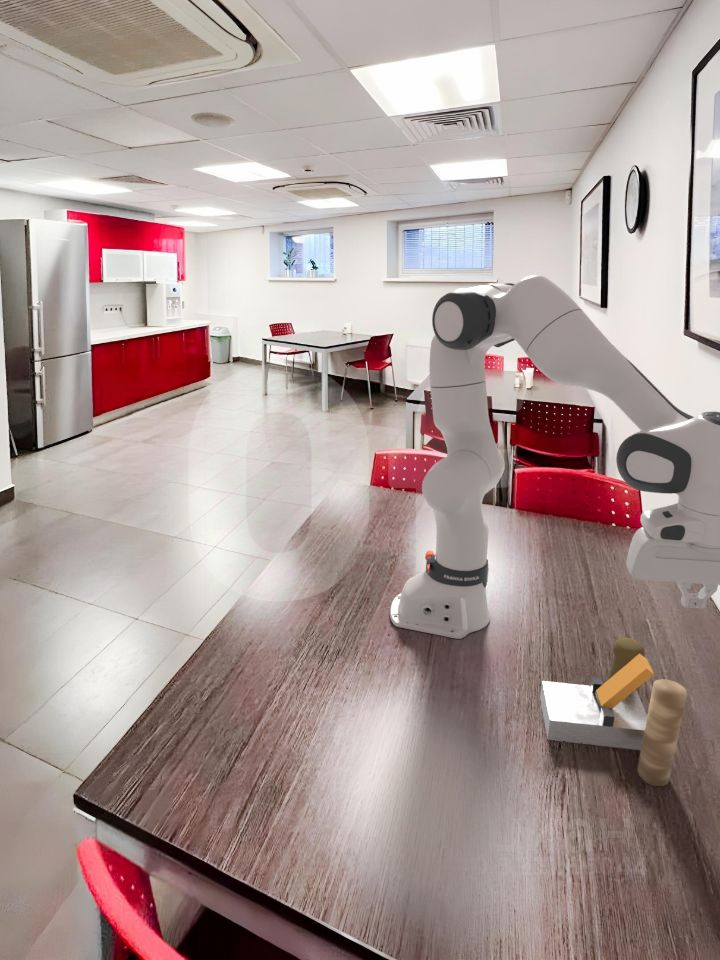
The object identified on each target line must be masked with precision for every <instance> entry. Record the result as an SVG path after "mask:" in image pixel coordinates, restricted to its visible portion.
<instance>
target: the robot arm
mask: <svg viewBox="0 0 720 960" xmlns="http://www.w3.org/2000/svg"><path fill="white" fill-rule="evenodd" d="M431 321H432V329H433V332H434V336H433V337H432V339H431V342H430V349H429V366H428V367H429V371H428V372H429V385H430V387H429V388H430V395H431V396H430V397H431V407H432V418H433V419H432V421H433V423H434V425H435V426H434V427H436V428H437V430H439V432H440V433H441V435H442V437H443V440H444V443H445V446H446V450H447V451H446V452H447V453H446V454H447V455H446V456H445V457H443V458H442V459H440V460H438V461H437V462H435V463H434V464H433V465H432V466H431V468H430V469H429V470H428V471H427V473H426V475H425V476H424V477H423V480H422V483H421V484H422V485H421V493H422V496H423V499H424V500H425V502H426V503H427V505H428V506H429V507H430V508H431V509H432V512H433V515H434V519H435V520H434V521H435V526H436V527H435V528H436V530H435V531H436V532H435V533H436V541H435V553H434V552H433V551H432V550H428V551H426V552H425V558H424V559H425V561H426V565H425V569H424V570H423V571H421V572H419V573H417V574H415V575H414V576H411V577H410V578H408V579H407V580H406V582H405V584H404V586H403V587H402V591H401V592H400V593H399V594H397V595H396V596H395V597H394V598H393V600H392V602H391V605H390V611H389V612H390V613H389V617H390V621H391V622H392V624H393V626H395V627H398V628H401V629H406V630H412V631H416V632H422V633H428V634H431V635H436V636H442V637H446V638H452V639H459V640H461V639H463V638H465V637H466V636H468V635H469V634H471V633H473V632H477V631H480V630H482V629H484V628H485V627H487V626H488V624H489V623H490V620H491V615H490V611H489V607H488V601H487V600H488V599H487V585H488V581H489V580H488V579H489V569H490V567H489V560H488V544H489V526H488V524H487V523H486V522H485V520H484V519H485V518H484V516H483V515H484V514H483V509H482V505H483V500H484V497H485V495H486V494H487V493H489V491H491V490H492V489H493V488H494V487H496V486H497V484H498V483H500V480H501V478H502V476H503V473H504V471H505V468H506V467H505V466H506V464H505V463H506V462H505V457H504V455H503V453H502V452H501V450H500V449H499V448H498V446H497V444H496V441H495V437H494V433H493V429H492V426H491V423H490V421H491V420H490V416H489V406H488V405H489V403H488V392H487V380H486V369H485V358H486V355H487V353H488V351H489V349H491V348H492V347H495V348H501V347H503V346H505V345H506V344H509V343H511V342H514V341H515V342H517V344H518V345H519V346H520V348H521V349H522V350H523V352H524V353H525V354H526V356H527V357H528V358H529V359H530V360H531V362H532V364H533V365H534V366H535V367H536V368H537V370H539V371H540V373H542V374H543V375H544V376H545V377H547V378H548V379H550V380H551V381H552V382H554V383H556V384H559V385H563V386H568V387H569V386H570V387H576V388H577V387H578V388H581V389H587V390H589V391H594V392H595V393H596V392H597V393H599V394H601V395H603V396H605V397H606V398H608V399H610V400H611V401H612V402H613V403H614V404H615V405H616V406H617V407H618V408H619V410H620V411H622V412H623V413H624V415H625V416H626V417H627V418H628V419H629V420H630V421H632V423H633V424H634V425H635V426H636V427H637V428H638V430H640V431H637V432H635V433H633V434H631V435H630V436H628V437H627V438H625V439H624V440H623V441H622V442H621V443H620V445H619V447H618V450H617V452H616V456H615V457H616V458H615V459H616V467H617V471H618V474H619V475H620V477H621V479H622V480H623V481H624V482H625V483H626V484H627V485H628V486H629V487H631V488H633V489H635V490H637V491H641V492H647V493H653V494H654V493H655V494H670V495H671V494H675V495H677V496H678V499H677V503H674V504H671V505H666V506H663V507H662V506H661V507H658V508H653V509H649V510H645V511H643V512H641V515H640V523H641V526H642V527H640V528H638V529H637V530H636V531H635V533H634V534H633V536H632V539H631V541H630V546H629V549H628V552H627V557H626V568H627V571H628V572H629V573H630V575H631V576H632V577H633V578H634V579H635V580H639V581H655V582H669V583H670V582H671V583H676V584H677V586H678V588H679V590H680V592H681V597H680V605H681V606H683V608H695V609H705V608H706V603H707V600H709V599H710V597H712V596H713V595H714V594H715V593H716V592H717V591H718V587H719V586H720V412H719V411H704V412H701V413H700V414H698V415H697V416H692V415H691V414H688V413H686V412H684V411H682V410H681V409H679V407H677V406H676V405H674V404H673V402H672V401H670V400H669V399H668V398H667V397H666V396H665V394H663V392H661V390H659V388H657V387H656V386H655V384H653V383H652V382H651V380H650V379H649V378H648V377H646V376H645V374H643V373H642V371H641V370H639V369H638V367H636V366H635V365H634V364H633V363H632V362H631V360H629V359H628V358H627V357H625V355H624V354H623V353H622V352H620V351H619V350H618V348H617V347H616V346H614V345H613V344H612V342H611V341H609V339H608V338H607V337H606V336H605V335H604V334H603V332H602V331H601V330H600V329H599V328H598V326H596V325H595V323H594V322H593V321H592V320H591V319H590V317H589V316H588V315H587V313H586V312H585V311H584V310H583V309H582V308H581V307H580V306H579V305H578V303H577V302H576V301H575V300H573V298H572V297H571V296H569V294H568V293H566V292H565V291H564V290H563V289H562V288H561V287H560V286H558V285H556V283H555V282H553V281H552V280H551V279H549V278H547V277H545V276H543V275H539V274H538V275H537V274H536V275H535V274H533V275H529V276H526V277H524V278H522V279H520V280H518V281H517V282H516V283H511V282H510V283H509V282H508V283H483V284H480V285H477V286H472V287H467V288H456V289H454V290H452V291H450V292H447V293H446V294H444V295H443V296H442V297H440V298H439V300H438V301H437V302H436V304H435V306H434V308H433V311H432V317H431ZM692 584H700V585H703V586H702V587H701V589H700V590H699V591H698V592H689V591H688V589H691V588H692Z"/></svg>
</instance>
